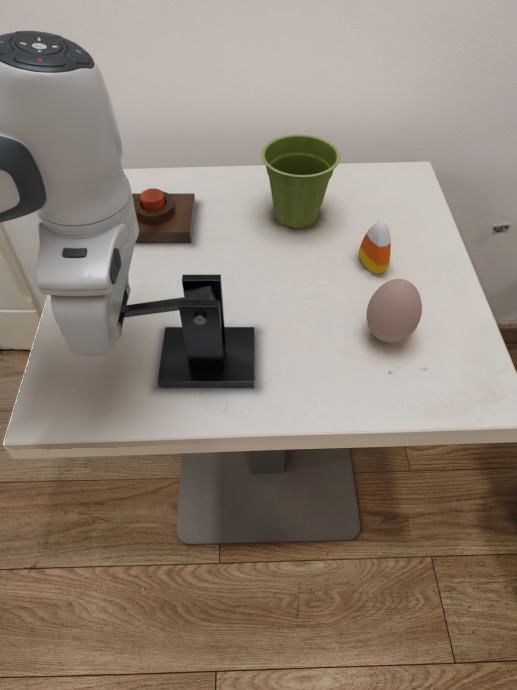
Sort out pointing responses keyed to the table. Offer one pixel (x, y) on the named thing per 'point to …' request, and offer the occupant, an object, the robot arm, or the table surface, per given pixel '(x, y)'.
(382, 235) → the candy corn
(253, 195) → the table surface
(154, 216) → the button block
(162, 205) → the button
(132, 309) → the lever
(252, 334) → the bracket
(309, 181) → the plant pot
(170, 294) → the table surface
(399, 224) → the table surface
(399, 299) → the egg
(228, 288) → the table surface
